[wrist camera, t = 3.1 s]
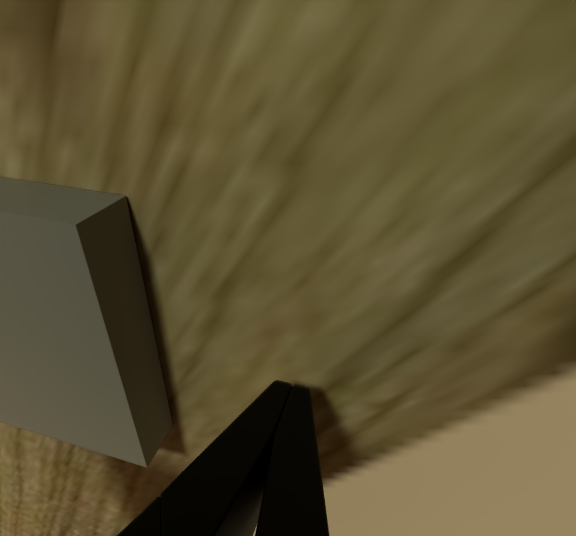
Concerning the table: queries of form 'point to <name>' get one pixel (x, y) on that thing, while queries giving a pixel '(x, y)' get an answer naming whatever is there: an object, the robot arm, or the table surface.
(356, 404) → the table surface
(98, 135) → the table surface
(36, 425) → the thin grey plate
